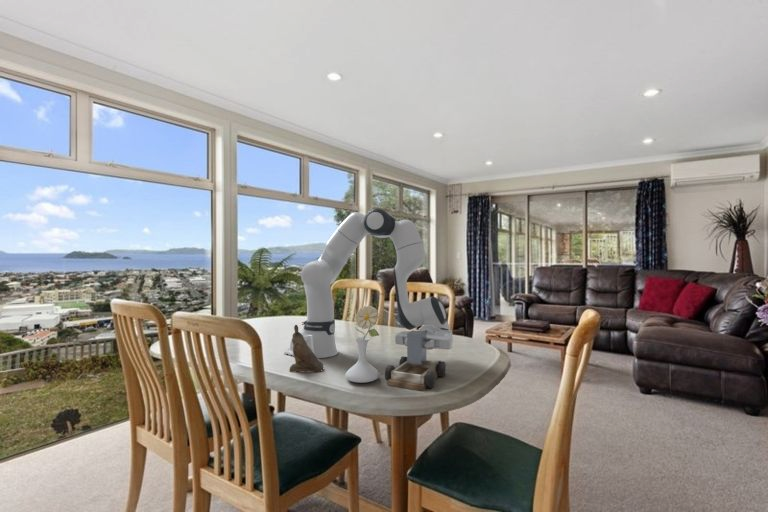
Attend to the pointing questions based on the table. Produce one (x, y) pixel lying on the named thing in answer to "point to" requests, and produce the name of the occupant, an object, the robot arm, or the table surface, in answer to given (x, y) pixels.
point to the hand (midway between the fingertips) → (415, 344)
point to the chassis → (414, 374)
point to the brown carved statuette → (303, 355)
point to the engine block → (416, 347)
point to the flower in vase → (364, 347)
